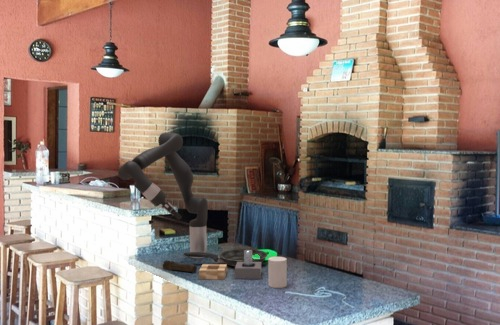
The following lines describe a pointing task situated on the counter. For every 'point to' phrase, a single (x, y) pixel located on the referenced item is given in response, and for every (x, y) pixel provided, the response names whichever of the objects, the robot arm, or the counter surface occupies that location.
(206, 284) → the counter surface
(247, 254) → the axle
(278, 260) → the cup
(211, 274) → the square frame block
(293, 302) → the counter surface
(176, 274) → the counter surface
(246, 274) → the holder block
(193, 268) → the hand tool
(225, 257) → the frying pan
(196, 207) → the robot arm
